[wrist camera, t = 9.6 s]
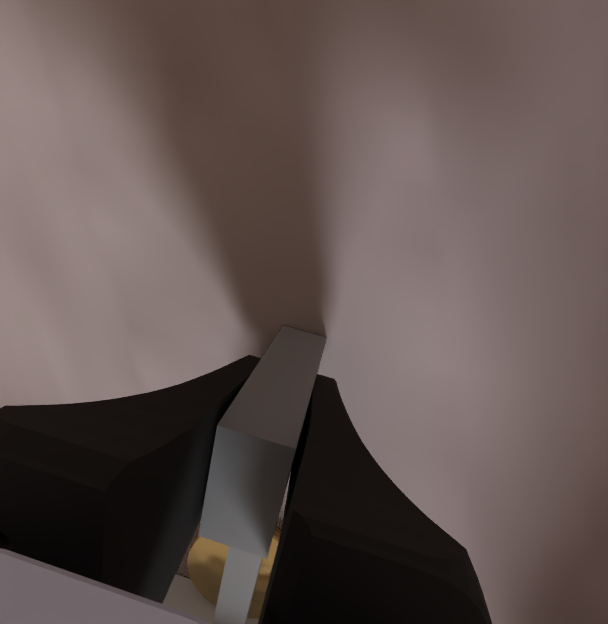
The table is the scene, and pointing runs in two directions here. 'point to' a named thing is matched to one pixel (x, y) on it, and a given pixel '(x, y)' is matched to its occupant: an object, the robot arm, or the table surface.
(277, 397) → the grey t-shaped piece
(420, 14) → the table surface
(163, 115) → the table surface
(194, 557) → the brass disc
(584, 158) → the table surface
